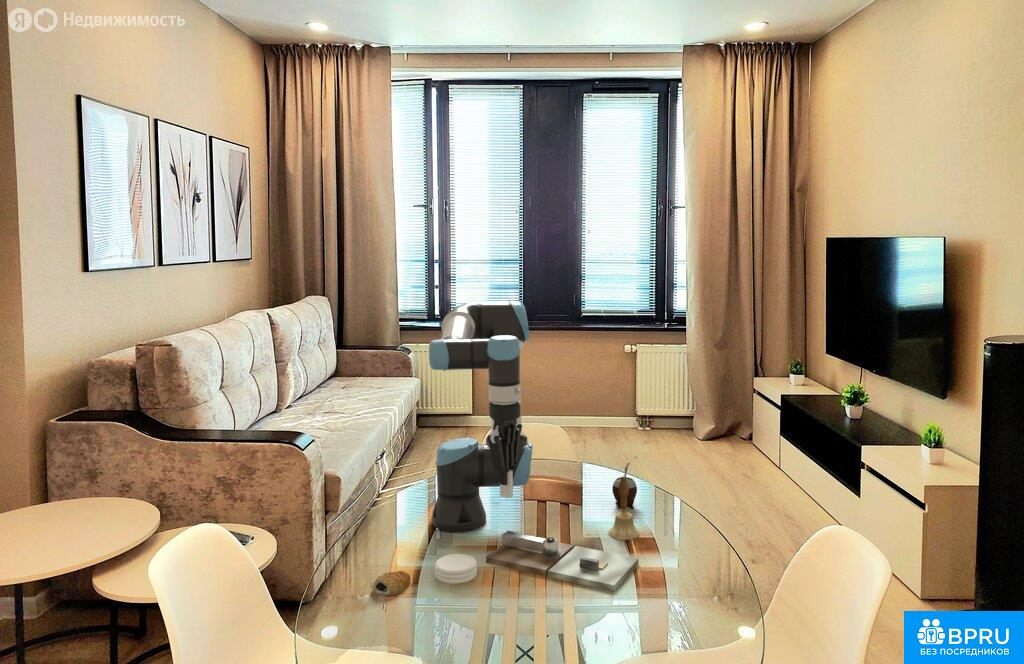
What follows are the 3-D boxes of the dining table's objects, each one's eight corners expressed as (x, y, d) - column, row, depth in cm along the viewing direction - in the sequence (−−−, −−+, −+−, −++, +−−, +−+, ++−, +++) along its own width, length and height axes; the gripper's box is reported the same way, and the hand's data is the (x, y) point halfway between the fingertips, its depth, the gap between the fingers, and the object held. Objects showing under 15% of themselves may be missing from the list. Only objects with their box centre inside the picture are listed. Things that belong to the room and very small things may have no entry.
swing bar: (560, 551, 203) (560, 537, 202) (554, 556, 200) (553, 542, 199) (508, 540, 210) (508, 527, 209) (501, 545, 207) (501, 532, 206)
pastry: (396, 576, 196) (395, 561, 195) (418, 583, 192) (417, 568, 192) (369, 592, 188) (369, 576, 188) (392, 599, 185) (391, 584, 184)
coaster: (439, 587, 190) (439, 573, 189) (431, 569, 199) (431, 556, 199) (481, 581, 193) (481, 567, 192) (471, 564, 202) (471, 550, 202)
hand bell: (638, 541, 214) (639, 482, 211) (607, 539, 215) (607, 481, 213) (640, 528, 222) (640, 472, 219) (609, 527, 223) (609, 471, 221)
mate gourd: (622, 500, 243) (622, 451, 241) (644, 506, 238) (644, 456, 236) (606, 506, 238) (606, 457, 236) (628, 513, 233) (628, 462, 230)
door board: (485, 562, 202) (485, 548, 202) (516, 539, 216) (516, 525, 216) (613, 591, 186) (613, 575, 185) (638, 564, 200) (638, 549, 199)
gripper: (504, 408, 186) (506, 507, 190) (531, 396, 197) (532, 490, 201) (476, 405, 190) (479, 502, 193) (504, 393, 201) (506, 485, 204)
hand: (506, 496), depth 197 cm, fingers closed
